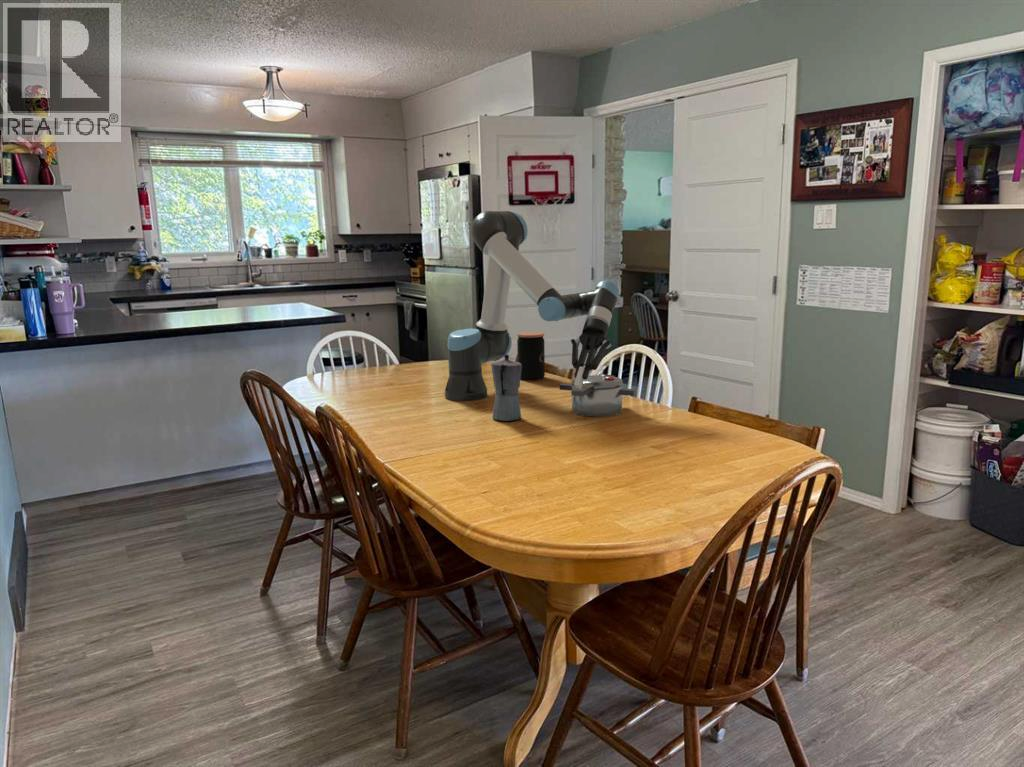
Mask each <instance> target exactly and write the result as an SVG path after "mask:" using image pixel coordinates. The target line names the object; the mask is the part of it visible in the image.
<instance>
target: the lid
mask: <svg viewBox="0 0 1024 767" xmlns="http://www.w3.org/2000/svg"><path fill="white" fill-rule="evenodd" d="M575 380H576V378H575V377H573V378H572V380H571V384H572V385H573V386H574V383H575ZM620 386H622V387H623V379H622V378H620V377H616V376H615V375H613V374H602V373H601V374H600V373H599V374H598V375H597V374H596V375H595V374H594V375H592V374H591V375H588V378H587V379H584V382H583V385H582V388H581V390H577V389H574V390H572V391H571V392H570V393H571V394H570V395H571V396H572V395H573V396H584V395H586V394H588V393H589V392H591V391H593V390H604V389H613V388H617V387H620ZM574 387H575V386H574Z"/></svg>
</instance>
